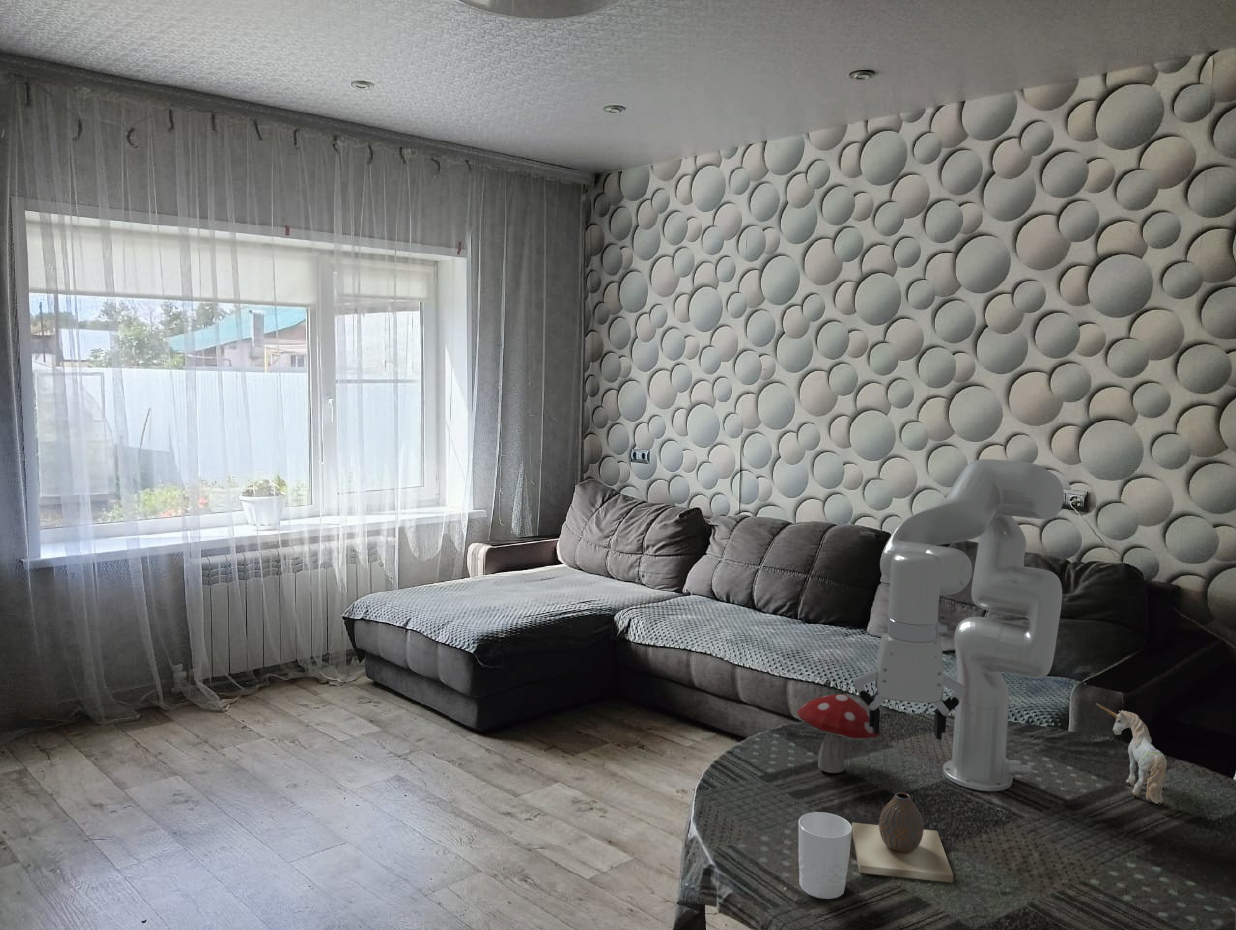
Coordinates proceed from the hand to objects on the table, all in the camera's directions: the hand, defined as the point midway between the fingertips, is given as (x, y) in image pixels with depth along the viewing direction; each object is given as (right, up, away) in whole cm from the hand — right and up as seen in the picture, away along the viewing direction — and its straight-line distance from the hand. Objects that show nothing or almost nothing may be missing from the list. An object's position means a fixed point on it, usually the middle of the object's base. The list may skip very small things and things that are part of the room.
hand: (906, 733), depth 149 cm
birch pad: (-1, -20, +2) cm, 20 cm away
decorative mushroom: (-3, -17, +34) cm, 38 cm away
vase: (0, -19, +2) cm, 19 cm away
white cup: (-15, -21, -8) cm, 27 cm away
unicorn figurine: (+50, -19, +28) cm, 61 cm away
